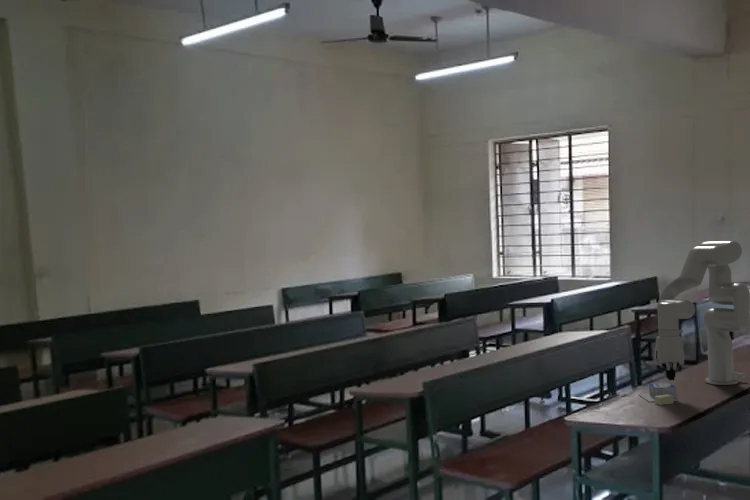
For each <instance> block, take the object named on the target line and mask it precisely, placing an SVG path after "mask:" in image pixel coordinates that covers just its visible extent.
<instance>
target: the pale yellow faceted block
mask: <svg viewBox="0 0 750 500" xmlns="http://www.w3.org/2000/svg"><path fill="white" fill-rule="evenodd" d="M654 404H655V405H658V404H659V405H658V406H663V405H664V404H665V405H669V404H670V405H671V404H674V401H673V396H672V395H668V394H667V395H659V396H655V402H654Z"/></svg>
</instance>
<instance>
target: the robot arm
mask: <svg viewBox="0 0 750 500" xmlns="http://www.w3.org/2000/svg"><path fill="white" fill-rule="evenodd" d="M742 252H743V249H742V246H741V244H740V243H739V242H737V241H736V240H712V241H711V240H708V241H703V242H701V243H699V244H698V246H697V245H696V246H695V247H693V248H691V249H690V250H689V252H688V254H687V257H686V259H685V262H684V265H683V267H682V269H681V272H680V274H679V276H677V277H676V278H674V279H673V280H672V281H671V282H670V283H669V284H667V285H666V286H665V287H664V288H663V289H662V292H661V293H660V296H659V298H658V301H657V306H656V307H657V308H656V310H657V311H656V312H657V328H658V329H657V330H658V336H656V338H655V346H654V358H655V364H656V365H657V366H660V367H663V368H664V369H665V377H666V379H667V380H669V381H675V378H676V370H677V369H678V367H679V366H682V365H684V364H685V351H684V350H685V349H684V344H683V340H682V336H681V335H680V334H682V333H683V332H684V331H683V329H680V324H679V323H680V322H679V320H687V319H690V318H692V317H693V316H694V315H695V313H696V305H695V304H694V303H693V302H692V301H690V300H686V299H675V298H676V297H677V296H679V295H680V294H681V293H684V292H686V291H689V290H691V289H694V288H696V287H699V286H701V284H702V282H703V279H704V277H705V274H706V271H707V269H708V275H709V276H708V301H709V302H710V303H712V304H714V305H720V306H723V305H724V306H733V308H727V307H713V308H712V307H711V308H709V309H707V310H706V311H705V312H704V314H703V324H704V327H705V331H706V341H707V359H708V360H707V361H708V362H707V363H708V364H707V365H708V367H707V368H708V376H707V377H706V378H704V381H705V383H707V384H709V385H716V386H733V385H736V384H737V385H738V383H739V378H746V377H747V375H746V372H737V371H734V353H733V339H732V338H731V335H730V333H729V332H732V333H733V332H735V333H743V332H745V331H747V329H749V325H750V289H749V288H748V286H747V285H746V284H745V283H742V282H732V270H731V267H730V266H729V265H730V264H732V263H734V262H737V261H738V260H739V259H740V258H741V256H742Z"/></svg>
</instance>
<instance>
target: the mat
mask: <svg viewBox="0 0 750 500" xmlns="http://www.w3.org/2000/svg"><path fill="white" fill-rule="evenodd" d="M638 396H639V397H641V398H642V399H643V400H645V401H646V402H648V403H655V398H654V397H653V396H652V395H651V394H650V393H638ZM673 402H678V399H677V398H673Z"/></svg>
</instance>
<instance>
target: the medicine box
mask: <svg viewBox="0 0 750 500" xmlns="http://www.w3.org/2000/svg"><path fill="white" fill-rule="evenodd" d="M648 388H649V389H648V390H649V392H648V393H649V394H651V395H652V396H653V397H654V398H655V396H659V395H667V394H668V395H672V396H673V398H675V399H677V398H678V395H677V394H678V393H677V386H675V385H674V384H673V383H672V382H667V383H666V382H662V383H660V382H659V383H658V382H657V383H654V382H653V383H649V384H648Z"/></svg>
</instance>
